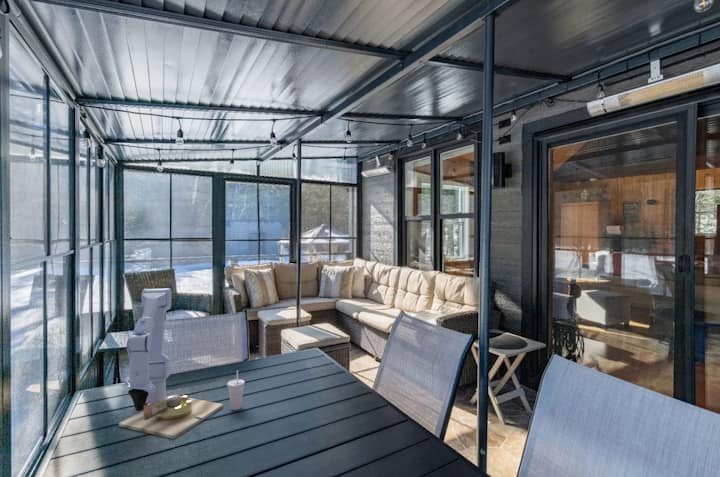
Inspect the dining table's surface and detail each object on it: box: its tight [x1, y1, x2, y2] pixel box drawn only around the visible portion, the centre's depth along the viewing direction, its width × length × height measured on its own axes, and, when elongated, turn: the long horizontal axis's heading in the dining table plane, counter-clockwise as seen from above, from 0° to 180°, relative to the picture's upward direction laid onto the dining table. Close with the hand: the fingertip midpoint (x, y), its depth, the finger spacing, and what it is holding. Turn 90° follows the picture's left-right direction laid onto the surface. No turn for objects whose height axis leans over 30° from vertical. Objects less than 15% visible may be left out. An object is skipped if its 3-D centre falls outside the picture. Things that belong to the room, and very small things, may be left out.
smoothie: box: [226, 370, 246, 411], centre depth 146 cm, size 6×6×14 cm
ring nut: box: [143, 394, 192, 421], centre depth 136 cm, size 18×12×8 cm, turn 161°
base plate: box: [118, 394, 224, 440], centre depth 139 cm, size 24×24×6 cm
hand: (139, 409), depth 131 cm, fingers closed
